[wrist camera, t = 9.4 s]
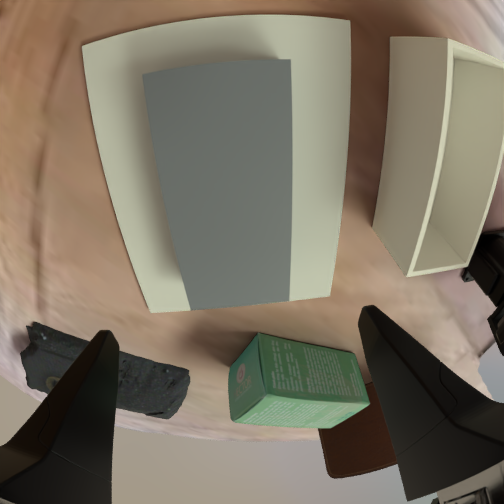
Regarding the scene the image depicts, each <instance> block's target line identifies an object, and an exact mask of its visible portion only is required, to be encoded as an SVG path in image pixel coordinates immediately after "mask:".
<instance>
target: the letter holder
mask: <svg viewBox="0 0 504 504" xmlns="http://www.w3.org/2000/svg"><path fill="white" fill-rule="evenodd" d="M365 388H366V391H367V395H368V398H369V401H370V404H369V405H368V406H367V407H365V408H364V409H362V410H361V411H359V412H357V413H356V414H354V415H352V416H351V417H349V418H347V419H346V420H344V421H342V422H341V423H339V424H337V425H335V426H334V427H332V428H318V431H319V436H320V440H321V444H322V449H323V453H324V459H325V464H326V469H327V472H328V475H329V476H330V477H332V478H345V477H351V476H357V475H362V474H366V473H370V472H373V471H377V470H381V469H384V468H387V467H389V466H393V465H395V464H398V463H397V459H396V455H395V452H394V448H393V445H392V441H391V438H390V434H389V431H388V427H387V424H386V421H385V418H384V414H383V411H382V408H381V405H380V402H379V398H378V395H377V392H376V389H375V386H374V383H373V382H371V383H369V384H366V385H365Z"/></svg>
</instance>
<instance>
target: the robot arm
mask: <svg viewBox="0 0 504 504" xmlns="http://www.w3.org/2000/svg"><path fill="white" fill-rule="evenodd" d="M462 280H463V281H464V282H469V281H474V280H475V282H476V283H477V284H478V285H479V287H480V288H481V289H482V291H483V292H484V293H485V295H488V297H489V298H490V300H491V301H492V302H493V304H494V305H495V306H496V307H497V309H496V310H495V311H494V312H493V314H492V315H490V316H489V317H488V319H487V320H488V322H489V325H490V328H491V330H492V333H493V335H494V338H495V340H496V343H497V345H498V348H499V350H500V352H501V354H502V355H503V356H504V230H502V231H492V232H483V233H481V234H480V237H479V239H478V242H477V244H476V247H475V250H474V252H473V255H472V257H471V260H470V262H469V264H468V267H467V268H466V271H465V273H464V275H463V277H462ZM358 327H359V332H360V336H361V340H362V344H363V349H364V353H365V358H366V362H367V365H368V368H369V371H370V374H371V377H372V380H373V383H374V386H375V389H376V392H377V395H378V398H379V402H380V405H381V408H382V411H383V414H384V418H385V421H386V424H387V427H388V431H389V434H390V438H391V441H392V445H393V448H394V452H395V455H396V459H397V463H398V467H399V471H400V475H401V479H402V483H403V486H404V491H405V495H406V499H407V501H411V500H414V499H417V498H420V497H423V496H426V495H429V494H432V493H435V492H437V495H438V497H437V498H436V499H433V501H432V503H431V504H504V403H499V402H496V401H493V400H491V399H489V398H488V397H486V396H485V395H483V394H482V393H481V392H479V391H478V390H477V389H475V388H474V387H472V386H471V385H470V384H468V383H467V382H465V381H464V380H463V379H461V378H460V377H459V376H458V375H456V374H455V373H454V372H453V371H451V370H450V369H449V368H448V367H447V366H446V365H444V364H443V363H442V362H440V360H439V359H437V358H436V357H435V356H434V355H433V354H432V353H431V352H429V351H428V350H427V349H426V348H425V347H424V346H422V345H421V344H420V343H419V342H418V341H417V340H415V339H414V338H413V337H412V336H411V335H410V334H408V333H407V332H406V331H405V330H404V329H402V328H401V327H400V326H399V325H398V324H396V323H395V322H394V321H393V320H392V319H390V318H389V317H388V316H387V315H386V314H384V313H383V312H382V311H381V310H380V309H378V308H377V307H376V306H374V305H369V306H364V307H363V308H362V311H361V314H360V317H359V321H358ZM118 383H119V344H118V342H117V340H116V339H115V337H114V335H113V333H112V332H111V331H110V330H100V331H99V332H98V333H97V334H96V335H95V336H94V338H93V339H92V340H91V341H90V342H89V344H88V345H87V346H86V347H85V348H84V350H83V351H82V352H81V353H80V355H79V356H78V357H77V358H76V359H75V361H74V362H73V363H72V364H71V366H70V367H69V368H68V369H67V371H66V372H65V373H64V374H63V376H62V377H61V378H60V380H59V381H58V382H57V383H56V385H55V386H54V387H53V389H52V390H51V391H50V393H49V394H48V395H47V397H46V398H45V399H44V400H43V402H42V403H41V404H40V406H39V407H38V408H37V409H36V411H35V412H34V413H33V414H32V416H31V417H30V418H29V419H28V420H27V422H26V423H25V424H24V425H23V426H22V427H21V428H20V429H19V431H18V432H17V433H16V434H15V435H14V436H13V437H12V438H11V440H9V441H8V442H7V443H6V444H4V445H2V446H0V504H112V497H111V496H112V492H111V491H112V488H111V487H112V483H111V481H112V453H113V452H112V451H113V436H114V424H115V413H116V403H117V394H118Z"/></svg>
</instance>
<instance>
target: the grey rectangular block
mask: <svg viewBox="0 0 504 504" xmlns="http://www.w3.org/2000/svg"><path fill="white" fill-rule="evenodd" d="M142 77H143V85H144V92H145V99H146V106H147V113H148V120H149V126H150V132H151V138H152V144H153V149H154V155H155V160H156V166H157V171H158V176H159V181H160V186H161V191H162V196H163V201H164V205H165V210H166V214H167V219H168V223H169V228H170V232H171V236H172V241H173V245H174V249H175V253H176V257H177V261H178V265H179V269H180V273H181V276H182V280H183V284H184V288H185V291H186V295H187V299H188V302H189V306H190V309H191V310H202V309H214V308H226V307H237V306H247V305H257V304H266V303H275V302H284V301H289V295H290V270H291V238H292V175H293V141H292V81H291V59H267V60H243V61H229V62H218V63H208V64H200V65H192V66H185V67H178V68H172V69H166V70H161V71H156V72H150V73H146V74H142Z"/></svg>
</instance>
